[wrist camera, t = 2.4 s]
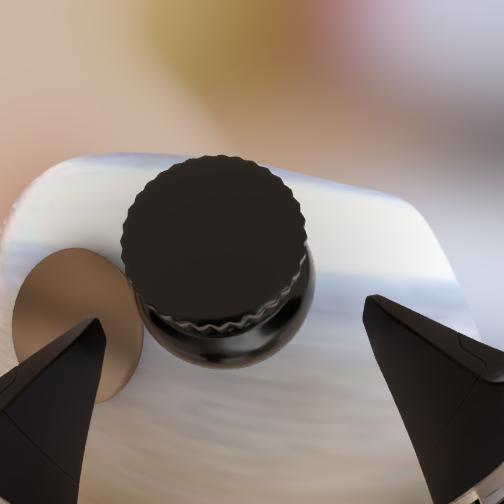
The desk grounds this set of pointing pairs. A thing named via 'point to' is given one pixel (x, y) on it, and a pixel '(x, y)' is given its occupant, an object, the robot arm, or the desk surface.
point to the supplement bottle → (219, 261)
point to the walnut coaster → (80, 311)
